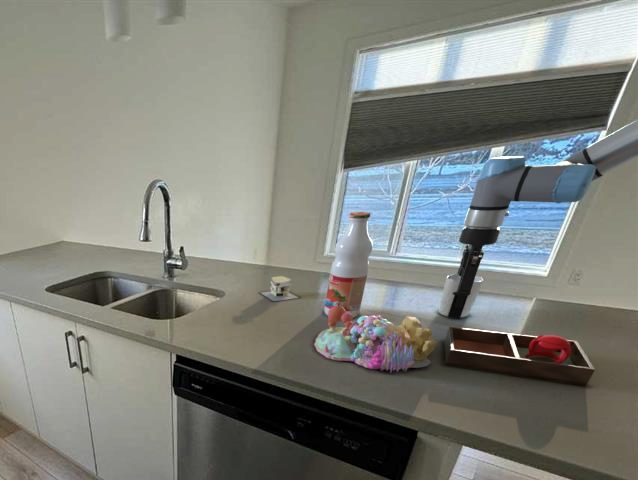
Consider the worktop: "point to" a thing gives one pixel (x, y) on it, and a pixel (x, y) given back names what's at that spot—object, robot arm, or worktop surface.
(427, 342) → the candy landscape model
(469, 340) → the sorting tray
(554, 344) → the red curved piece
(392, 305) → the worktop surface
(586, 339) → the worktop surface
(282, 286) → the stacked layers on plate
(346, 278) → the fruit juice
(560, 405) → the worktop surface
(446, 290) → the white cup
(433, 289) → the worktop surface
